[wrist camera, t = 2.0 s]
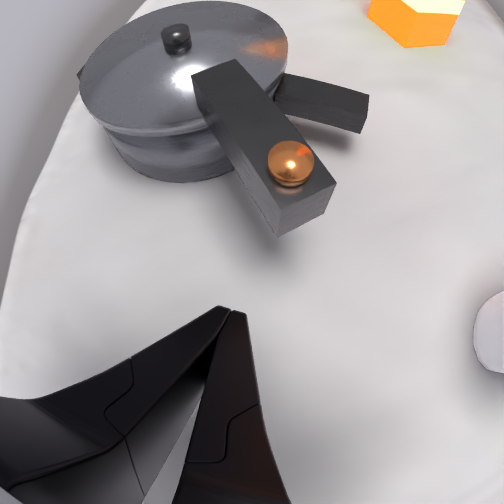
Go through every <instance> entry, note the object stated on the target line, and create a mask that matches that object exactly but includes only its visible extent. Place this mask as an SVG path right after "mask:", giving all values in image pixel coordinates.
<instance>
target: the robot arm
mask: <svg viewBox="0 0 504 504" xmlns="http://www.w3.org/2000/svg"><path fill="white" fill-rule="evenodd" d="M201 396H202V397H201ZM200 398H201V401H200V405H199V409H198V413H197V416H196V420H195V424H194V428H193V432H192V435H191V439H190V443H189V447H188V451H187V455H186V458H185V464H184V466H183V470H182V474H181V477H180V480H179V484H178V487H177V490H176V493H175V495H174V498H173V501H172V504H292V503H291V501H290V499H289V497H288V495H287V492H286V490H285V487H284V484H283V481H282V479H281V476H280V473H279V470H278V467H277V464H276V462H275V459H274V456H273V453H272V450H271V447H270V443H269V440H268V436H267V433H266V428H265V424H264V419H263V414H262V408H261V404H260V396H259V390H258V384H257V378H256V371H255V365H254V359H253V352H252V346H251V340H250V333H249V327H248V320H247V315H246V314H245V313H243V312H239V311H236V310H233V311H231V309H229V308H226V307H223V306H216V307H214V308H213V309H211V310H209V311H208V312H206V313H204V314H203V315H201V316H199V317H198V318H196V319H194V320H193V321H191V322H189V323H188V324H186V325H184V326H183V327H181V328H179V329H178V330H176V331H174V332H172V333H171V334H169V335H167V336H166V337H164V338H162V339H161V340H159V341H157V342H155V343H154V344H152V345H150V346H149V347H147V348H145V349H144V350H142V351H140V352H138V353H137V354H135V355H133V356H131V359H130V358H128V359H126V360H124V361H123V362H121V363H119V364H117V365H115V366H114V367H112V368H110V369H108V370H106V371H104V372H102V373H100V374H98V375H95V376H93V377H91V378H89V379H87V380H84V381H82V382H79V383H77V384H74V385H72V386H69V387H67V388H64V389H62V390H59V391H57V392H54V393H52V394H49V395H46V396H43V397H40V398H35V399H15V398H7V397H0V504H141V503H142V501H143V500H144V497H145V496H146V494H147V492H148V491H149V489H150V487H151V486H152V484H153V482H154V480H155V479H156V477H157V475H158V473H159V472H160V470H161V468H162V466H163V464H164V463H165V461H166V459H167V457H168V456H169V454H170V452H171V450H172V449H173V447H174V445H175V443H176V441H177V440H178V438H179V436H180V434H181V432H182V431H183V429H184V427H185V425H186V423H187V422H188V420H189V418H190V416H191V414H192V413H193V411H194V409H195V407H196V405H197V403H198V402H199V400H200Z"/></svg>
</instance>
